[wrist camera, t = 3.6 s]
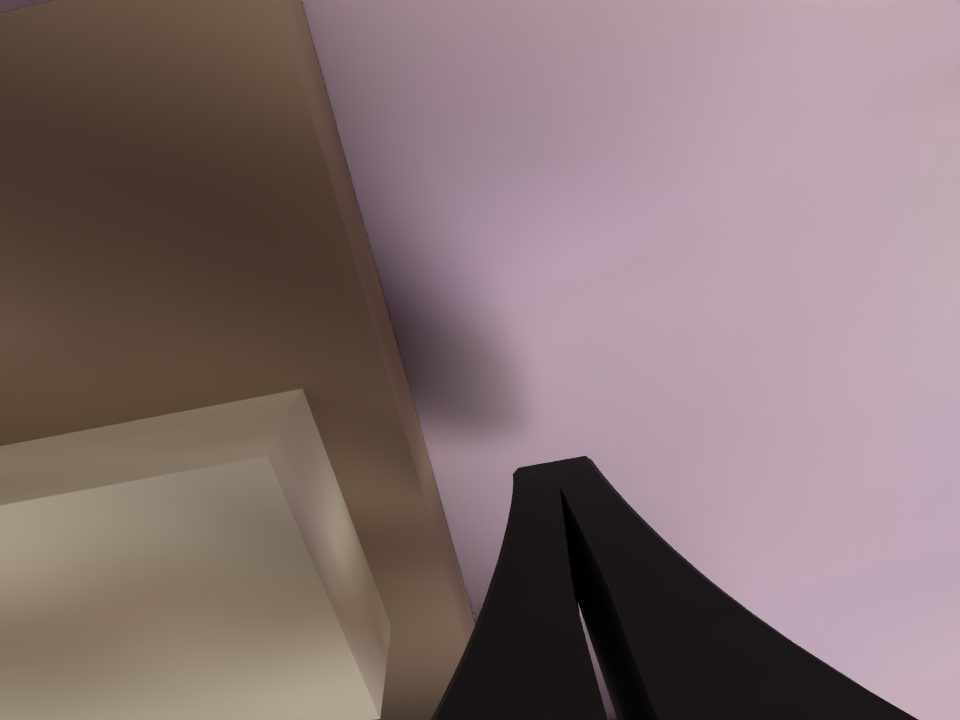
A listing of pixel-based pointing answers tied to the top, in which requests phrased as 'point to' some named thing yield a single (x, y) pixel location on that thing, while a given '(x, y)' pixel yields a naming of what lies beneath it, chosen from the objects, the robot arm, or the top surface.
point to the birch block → (186, 573)
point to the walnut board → (212, 270)
